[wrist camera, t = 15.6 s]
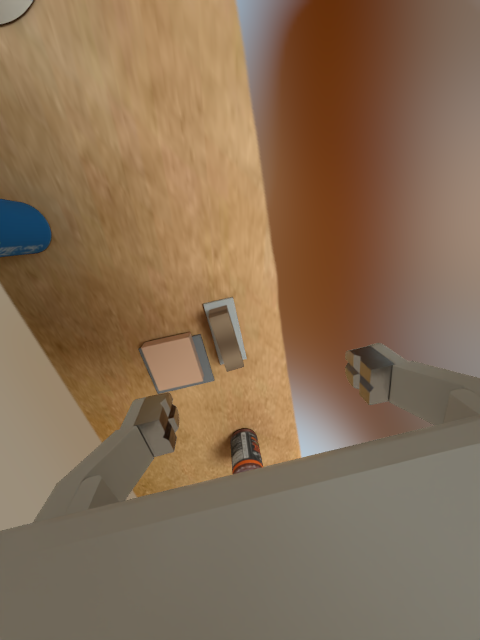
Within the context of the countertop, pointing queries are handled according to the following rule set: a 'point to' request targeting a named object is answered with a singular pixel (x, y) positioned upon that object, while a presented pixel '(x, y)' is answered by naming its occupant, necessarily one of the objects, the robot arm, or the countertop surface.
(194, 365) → the tile
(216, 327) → the tall taupe beveled block
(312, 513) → the robot arm
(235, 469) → the supplement bottle
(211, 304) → the pad
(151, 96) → the countertop surface
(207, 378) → the mat
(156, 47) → the countertop surface
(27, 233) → the beverage can
